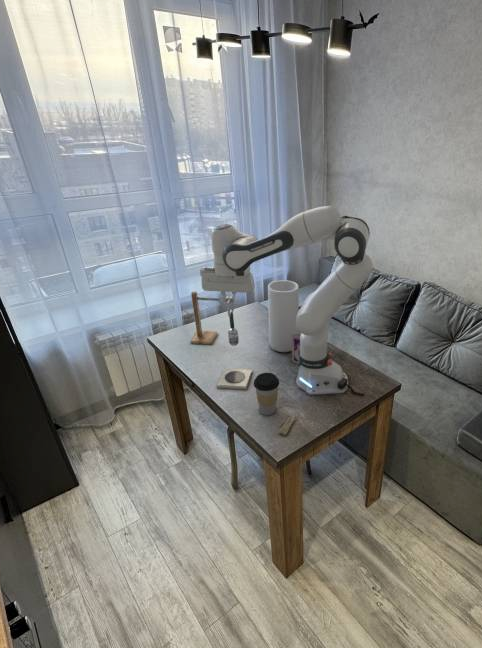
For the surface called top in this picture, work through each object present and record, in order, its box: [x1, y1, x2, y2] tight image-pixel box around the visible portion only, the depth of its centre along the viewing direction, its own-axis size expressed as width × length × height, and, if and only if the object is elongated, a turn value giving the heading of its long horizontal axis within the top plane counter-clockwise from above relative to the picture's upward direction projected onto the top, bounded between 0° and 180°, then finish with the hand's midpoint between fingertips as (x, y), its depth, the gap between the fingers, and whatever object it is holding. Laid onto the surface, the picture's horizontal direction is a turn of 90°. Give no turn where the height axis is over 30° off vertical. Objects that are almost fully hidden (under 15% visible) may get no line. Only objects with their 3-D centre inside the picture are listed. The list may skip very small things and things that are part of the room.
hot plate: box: [216, 368, 253, 390], centre depth 169 cm, size 12×12×2 cm
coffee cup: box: [253, 372, 280, 416], centre depth 150 cm, size 9×9×15 cm
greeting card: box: [291, 333, 301, 365], centre depth 179 cm, size 11×7×15 cm, turn 66°
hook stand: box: [190, 291, 222, 345], centre depth 191 cm, size 15×10×25 cm, turn 88°
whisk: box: [226, 295, 240, 347], centre depth 163 cm, size 4×6×21 cm
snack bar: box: [278, 416, 297, 436], centre depth 146 cm, size 10×2×3 cm
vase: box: [267, 279, 300, 353], centre depth 187 cm, size 14×14×32 cm
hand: (229, 301), depth 158 cm, fingers closed on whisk
